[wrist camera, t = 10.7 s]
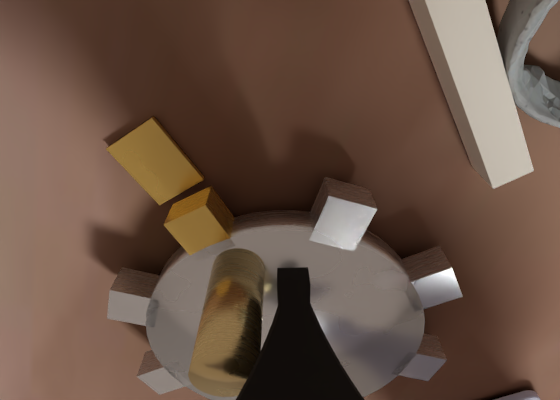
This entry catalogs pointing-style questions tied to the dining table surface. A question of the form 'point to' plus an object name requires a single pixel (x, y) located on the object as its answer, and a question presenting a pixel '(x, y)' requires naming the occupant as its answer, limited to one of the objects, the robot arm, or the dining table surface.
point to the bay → (475, 85)
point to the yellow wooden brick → (155, 161)
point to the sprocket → (263, 293)
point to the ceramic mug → (528, 78)
